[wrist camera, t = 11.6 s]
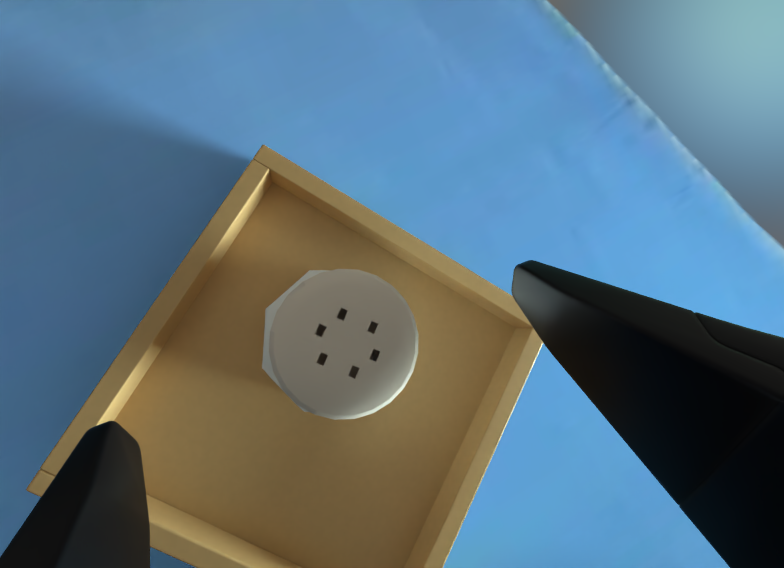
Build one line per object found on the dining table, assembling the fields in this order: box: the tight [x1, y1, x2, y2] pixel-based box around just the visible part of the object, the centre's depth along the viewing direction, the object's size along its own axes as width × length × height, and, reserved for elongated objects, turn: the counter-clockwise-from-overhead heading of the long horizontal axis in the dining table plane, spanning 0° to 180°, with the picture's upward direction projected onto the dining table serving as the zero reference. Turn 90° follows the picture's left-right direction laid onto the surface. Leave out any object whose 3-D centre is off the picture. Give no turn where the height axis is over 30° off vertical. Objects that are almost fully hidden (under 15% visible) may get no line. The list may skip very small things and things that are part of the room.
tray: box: [26, 145, 543, 568], centre depth 17 cm, size 15×15×2 cm
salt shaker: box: [262, 269, 418, 420], centre depth 13 cm, size 5×5×11 cm
